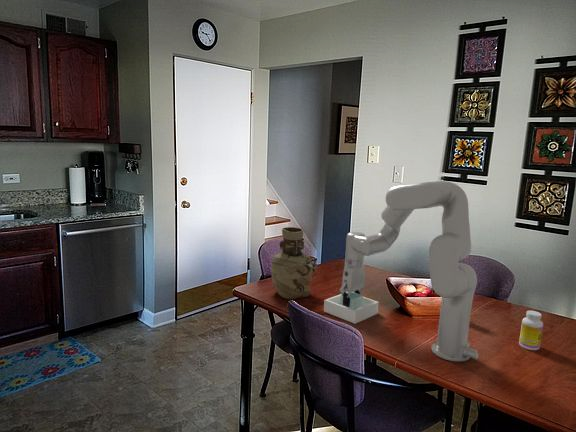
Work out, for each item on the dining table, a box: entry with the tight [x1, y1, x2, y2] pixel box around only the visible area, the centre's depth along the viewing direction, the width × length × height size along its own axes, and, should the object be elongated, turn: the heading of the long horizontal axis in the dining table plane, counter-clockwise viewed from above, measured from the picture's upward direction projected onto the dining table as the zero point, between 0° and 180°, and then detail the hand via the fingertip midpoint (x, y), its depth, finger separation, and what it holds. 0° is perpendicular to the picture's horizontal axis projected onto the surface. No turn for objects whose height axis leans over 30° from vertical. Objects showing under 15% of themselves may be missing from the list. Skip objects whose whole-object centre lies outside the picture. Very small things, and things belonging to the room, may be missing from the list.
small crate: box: [340, 291, 364, 310], centre depth 180 cm, size 6×6×5 cm
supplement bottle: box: [518, 310, 544, 351], centre depth 155 cm, size 7×7×13 cm
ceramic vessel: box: [270, 226, 318, 300], centre depth 198 cm, size 19×21×30 cm
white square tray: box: [323, 291, 380, 325], centre depth 181 cm, size 16×16×5 cm
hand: (351, 303), depth 180 cm, fingers closed on small crate, 6 cm apart
